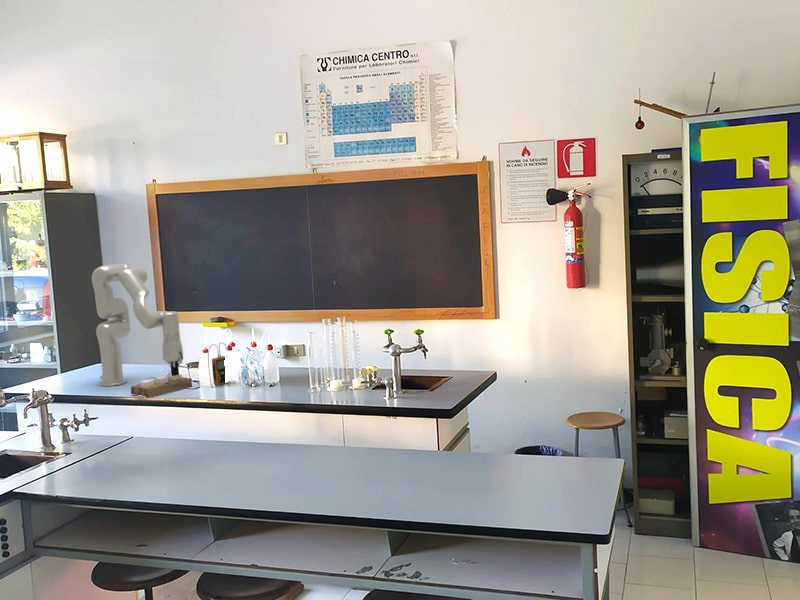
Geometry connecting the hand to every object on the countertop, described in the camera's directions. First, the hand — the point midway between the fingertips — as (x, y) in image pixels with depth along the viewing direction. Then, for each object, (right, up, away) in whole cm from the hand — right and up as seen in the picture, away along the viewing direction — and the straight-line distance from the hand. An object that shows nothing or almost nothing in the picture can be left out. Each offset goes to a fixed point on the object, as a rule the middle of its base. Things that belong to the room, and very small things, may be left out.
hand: (175, 374), depth 365 cm
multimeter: (+24, -5, +1) cm, 25 cm away
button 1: (-9, -6, -12) cm, 17 cm away
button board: (-4, -7, -6) cm, 10 cm away
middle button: (-5, -5, -6) cm, 9 cm away
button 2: (0, -5, +1) cm, 5 cm away
